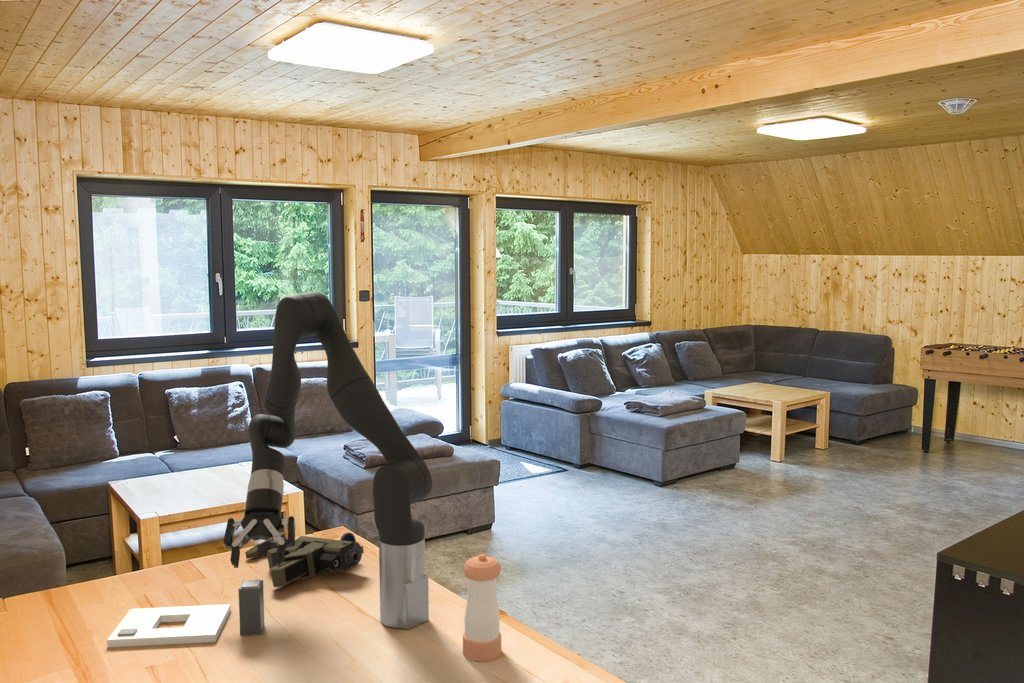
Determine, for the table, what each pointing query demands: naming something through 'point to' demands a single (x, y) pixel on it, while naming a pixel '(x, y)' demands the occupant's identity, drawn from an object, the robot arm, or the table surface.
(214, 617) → the plate
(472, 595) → the pepper shaker
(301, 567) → the futuristic firearm
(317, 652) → the table surface
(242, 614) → the grey rectangular peg
